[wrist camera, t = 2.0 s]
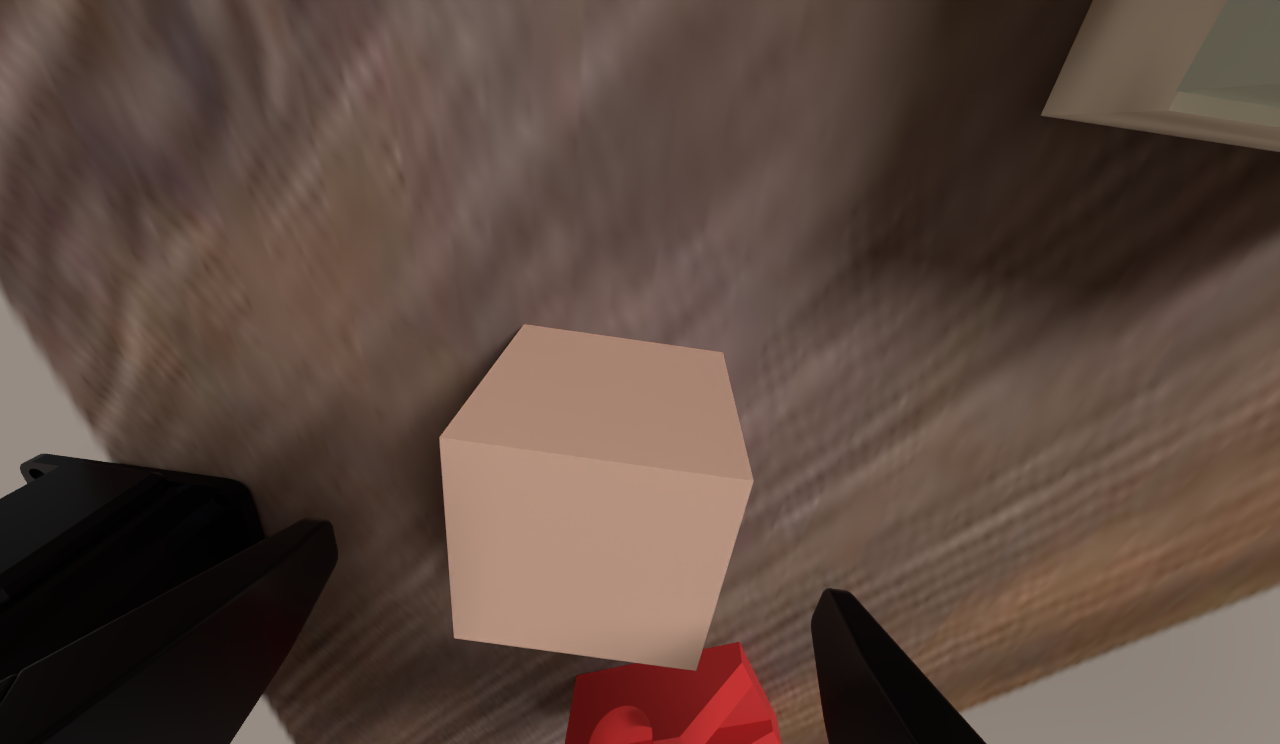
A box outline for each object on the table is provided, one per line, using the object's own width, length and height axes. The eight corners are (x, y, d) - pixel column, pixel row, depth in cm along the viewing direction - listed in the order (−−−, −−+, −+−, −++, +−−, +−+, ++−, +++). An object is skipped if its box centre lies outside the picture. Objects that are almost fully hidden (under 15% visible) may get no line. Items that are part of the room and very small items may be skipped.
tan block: (687, 502, 14) (695, 670, 10) (521, 479, 14) (453, 638, 10) (722, 351, 12) (753, 480, 8) (524, 323, 12) (439, 437, 8)
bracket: (627, 733, 21) (620, 823, 18) (577, 666, 19) (562, 756, 16) (774, 707, 19) (791, 801, 16) (738, 632, 17) (750, 725, 15)
